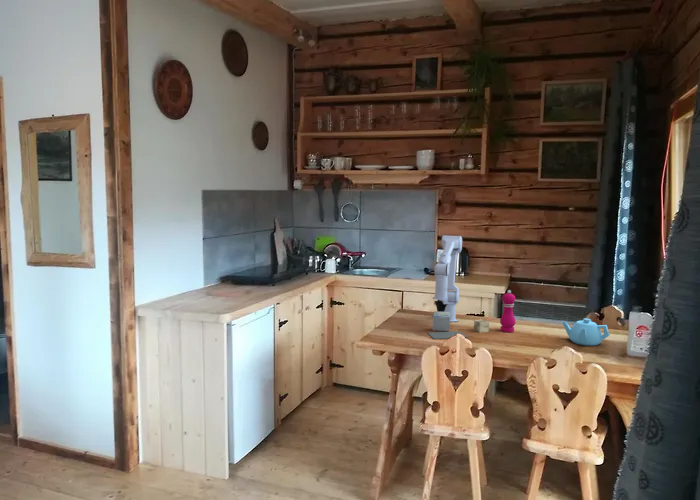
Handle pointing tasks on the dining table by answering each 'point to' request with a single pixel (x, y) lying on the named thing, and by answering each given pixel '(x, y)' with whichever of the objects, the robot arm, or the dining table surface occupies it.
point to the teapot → (586, 332)
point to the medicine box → (441, 321)
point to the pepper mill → (508, 313)
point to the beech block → (481, 326)
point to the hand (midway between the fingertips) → (440, 315)
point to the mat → (443, 334)
